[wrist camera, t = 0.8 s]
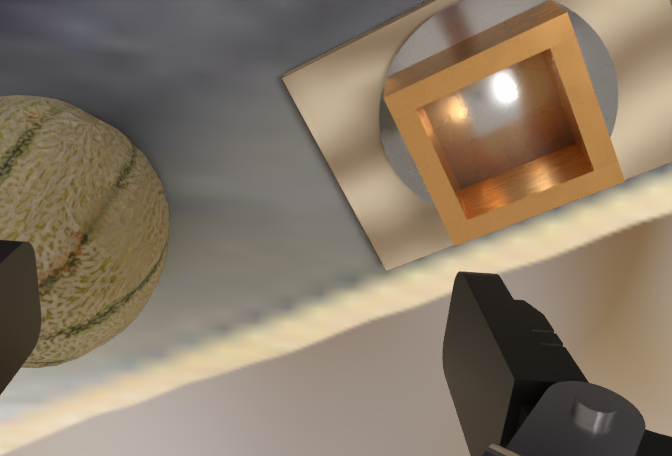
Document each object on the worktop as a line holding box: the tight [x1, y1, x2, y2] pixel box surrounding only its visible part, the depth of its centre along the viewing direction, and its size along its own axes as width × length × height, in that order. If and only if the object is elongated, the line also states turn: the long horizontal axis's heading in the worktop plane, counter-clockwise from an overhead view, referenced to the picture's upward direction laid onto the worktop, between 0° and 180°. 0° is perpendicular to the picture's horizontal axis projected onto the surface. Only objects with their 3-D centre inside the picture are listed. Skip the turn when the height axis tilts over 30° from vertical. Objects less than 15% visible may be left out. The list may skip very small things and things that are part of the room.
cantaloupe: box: [0, 95, 169, 368], centre depth 35 cm, size 15×15×15 cm
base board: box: [282, 0, 672, 271], centre depth 36 cm, size 14×20×1 cm
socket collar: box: [379, 0, 625, 246], centre depth 34 cm, size 13×13×5 cm
